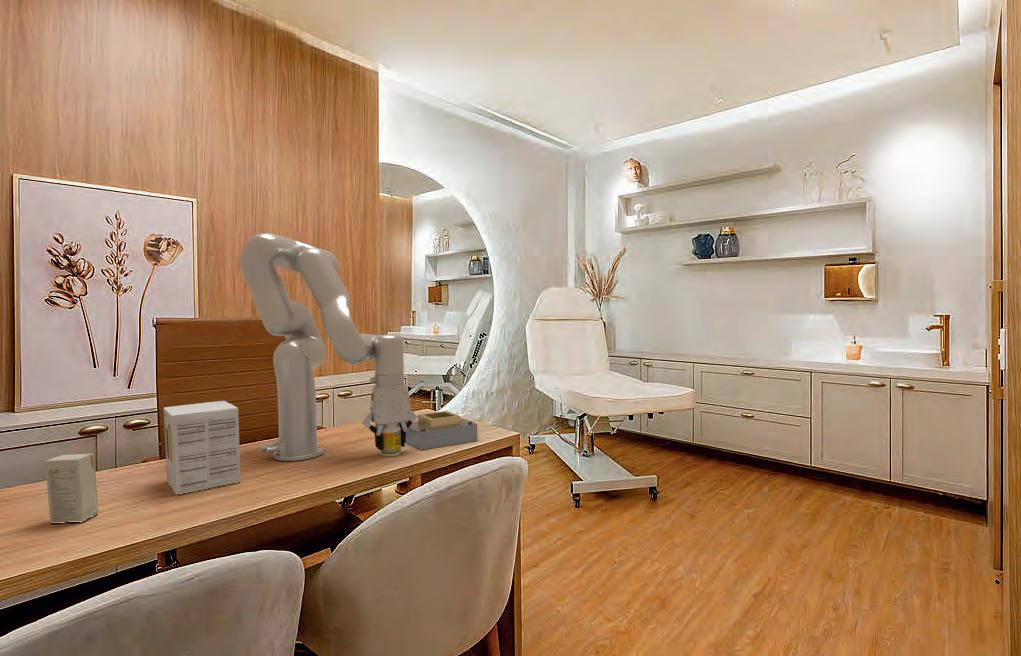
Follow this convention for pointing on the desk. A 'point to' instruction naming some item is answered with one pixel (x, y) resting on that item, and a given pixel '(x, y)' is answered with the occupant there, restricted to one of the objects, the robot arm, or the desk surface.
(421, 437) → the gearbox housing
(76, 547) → the desk surface
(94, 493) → the skincare box
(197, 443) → the supplement box
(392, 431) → the supplement bottle
